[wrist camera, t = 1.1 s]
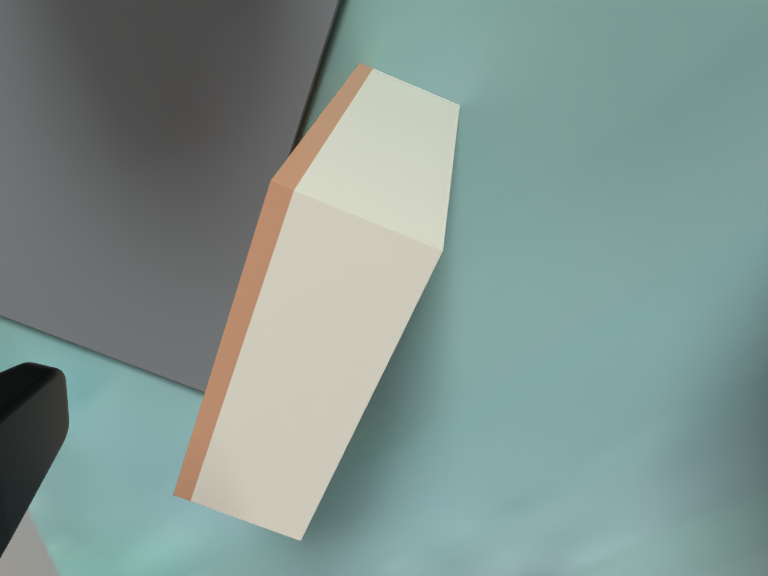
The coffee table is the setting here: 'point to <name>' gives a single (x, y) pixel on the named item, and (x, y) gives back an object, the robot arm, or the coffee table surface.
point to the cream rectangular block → (322, 300)
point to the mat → (144, 164)
